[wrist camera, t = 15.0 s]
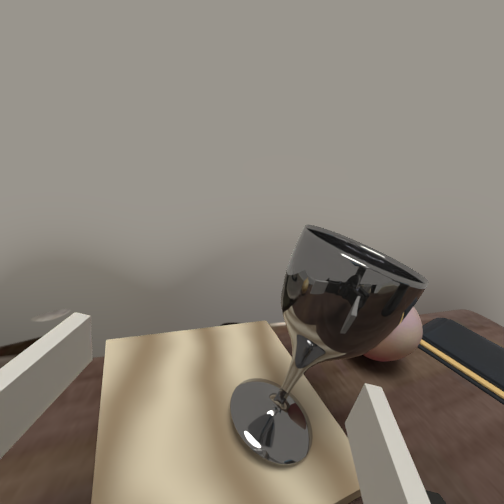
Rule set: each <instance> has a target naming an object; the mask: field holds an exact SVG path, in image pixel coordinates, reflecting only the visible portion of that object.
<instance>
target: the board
mask: <svg viewBox="0 0 504 504" xmlns="http://www.w3.org/2000/svg"><path fill="white" fill-rule="evenodd" d="M291 360H292V357H291V356H290V354H289V353H288V351H287V350H286V349H285V347H284V346H283V344H282V343H281V341H280V340H279V339H278V337H277V336H276V334H275V333H274V331H273V330H272V329H271V327H270V326H269V324H268V323H267V321H258V322H250V323H242V324H233V325H225V326H217V327H209V328H200V329H193V330H184V331H176V332H167V333H159V334H151V335H143V336H134V337H126V338H118V339H110V340H106V349H105V360H104V370H103V381H102V392H101V403H100V414H99V425H98V436H97V446H96V457H95V468H94V479H93V490H92V501H91V504H348V503H350V502H351V501H353V500H355V499H357V498H358V497H360V496H361V491H360V487H359V483H358V478H357V474H356V470H355V465H354V461H353V457H352V452H351V448H350V444H349V439H348V438H347V436H346V435H345V433H344V432H343V430H342V429H341V427H340V426H339V425H338V423H337V422H336V420H335V419H334V417H333V416H332V415H331V413H330V412H329V410H328V409H327V407H326V406H325V405H324V403H323V402H322V400H321V399H320V397H319V396H318V394H317V393H316V392H315V390H314V389H313V387H312V386H311V384H310V383H309V382H308V380H307V379H306V377H305V376H304V374H303V375H302V377H301V378H300V379H299V380H298V382H297V383H296V384H295V386H294V387H293V389H292V390H291V392H290V393H292V394H293V395H294V396H295V397H296V399H297V400H298V401H299V402H300V403H301V405H302V406H303V408H304V409H305V411H306V413H307V415H308V417H309V420H310V423H311V427H312V434H313V440H312V446H311V449H310V451H309V453H308V454H307V456H306V457H305V458H304V459H303V460H301V461H300V462H298V463H295V464H291V465H281V464H276V463H273V462H270V461H268V460H266V459H264V458H262V457H260V456H259V455H257V454H256V453H255V452H253V451H252V450H251V449H250V448H249V447H248V446H247V445H246V444H245V442H244V441H243V440H242V439H241V437H240V436H239V434H238V432H237V431H236V429H235V426H234V424H233V421H232V418H231V413H230V400H231V396H232V393H233V391H234V390H235V388H236V387H237V386H238V385H239V384H240V383H242V382H243V381H245V380H248V379H253V378H262V379H267V380H270V381H273V382H275V383H277V384H279V385H281V386H282V384H283V382H284V380H285V377H286V375H287V372H288V370H289V367H290V364H291Z"/></svg>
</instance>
